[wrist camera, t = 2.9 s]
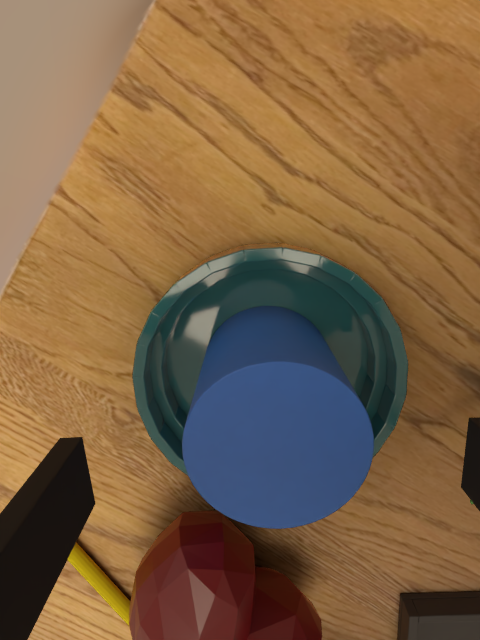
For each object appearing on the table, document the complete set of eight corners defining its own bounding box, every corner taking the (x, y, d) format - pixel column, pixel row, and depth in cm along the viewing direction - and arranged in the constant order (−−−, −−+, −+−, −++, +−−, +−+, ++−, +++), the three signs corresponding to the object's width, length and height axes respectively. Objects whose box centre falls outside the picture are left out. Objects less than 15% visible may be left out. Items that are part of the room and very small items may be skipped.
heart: (214, 664, 28) (322, 579, 27) (215, 819, 20) (365, 706, 20) (95, 555, 26) (209, 462, 25) (46, 683, 18) (208, 553, 18)
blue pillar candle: (329, 302, 21) (377, 356, 13) (329, 418, 23) (371, 526, 15) (199, 309, 21) (172, 366, 13) (209, 424, 23) (191, 532, 15)
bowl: (392, 234, 20) (416, 239, 17) (382, 461, 24) (400, 495, 21) (132, 250, 21) (114, 257, 18) (162, 470, 24) (150, 505, 22)
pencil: (186, 657, 29) (184, 673, 28) (175, 662, 29) (172, 678, 28) (40, 497, 25) (32, 508, 24) (28, 504, 25) (20, 515, 24)
